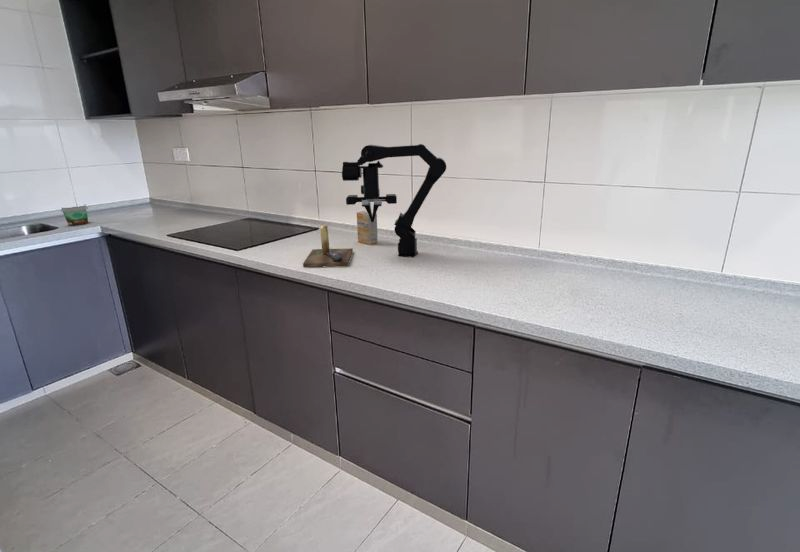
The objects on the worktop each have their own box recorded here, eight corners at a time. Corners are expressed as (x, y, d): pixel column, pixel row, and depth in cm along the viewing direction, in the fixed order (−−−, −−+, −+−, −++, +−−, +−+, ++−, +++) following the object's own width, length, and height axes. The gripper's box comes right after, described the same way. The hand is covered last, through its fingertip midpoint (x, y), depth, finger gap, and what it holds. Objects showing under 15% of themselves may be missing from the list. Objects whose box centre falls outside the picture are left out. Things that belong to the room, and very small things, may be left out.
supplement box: (357, 242, 189) (355, 212, 185) (365, 240, 193) (364, 210, 188) (369, 245, 184) (368, 214, 180) (378, 243, 187) (377, 212, 183)
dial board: (352, 252, 175) (352, 247, 174) (347, 266, 157) (347, 262, 156) (312, 252, 175) (312, 248, 174) (303, 267, 157) (302, 263, 156)
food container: (70, 227, 233) (65, 208, 230) (65, 226, 236) (60, 207, 233) (95, 222, 243) (91, 204, 240) (90, 221, 246) (85, 204, 243)
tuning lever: (326, 249, 172) (324, 223, 168) (343, 260, 158) (341, 231, 154) (317, 251, 170) (315, 224, 166) (334, 261, 156) (332, 233, 153)
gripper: (396, 177, 169) (397, 217, 174) (347, 178, 169) (350, 218, 174) (396, 180, 158) (397, 223, 163) (344, 182, 158) (347, 224, 163)
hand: (372, 222), depth 166 cm, fingers closed
